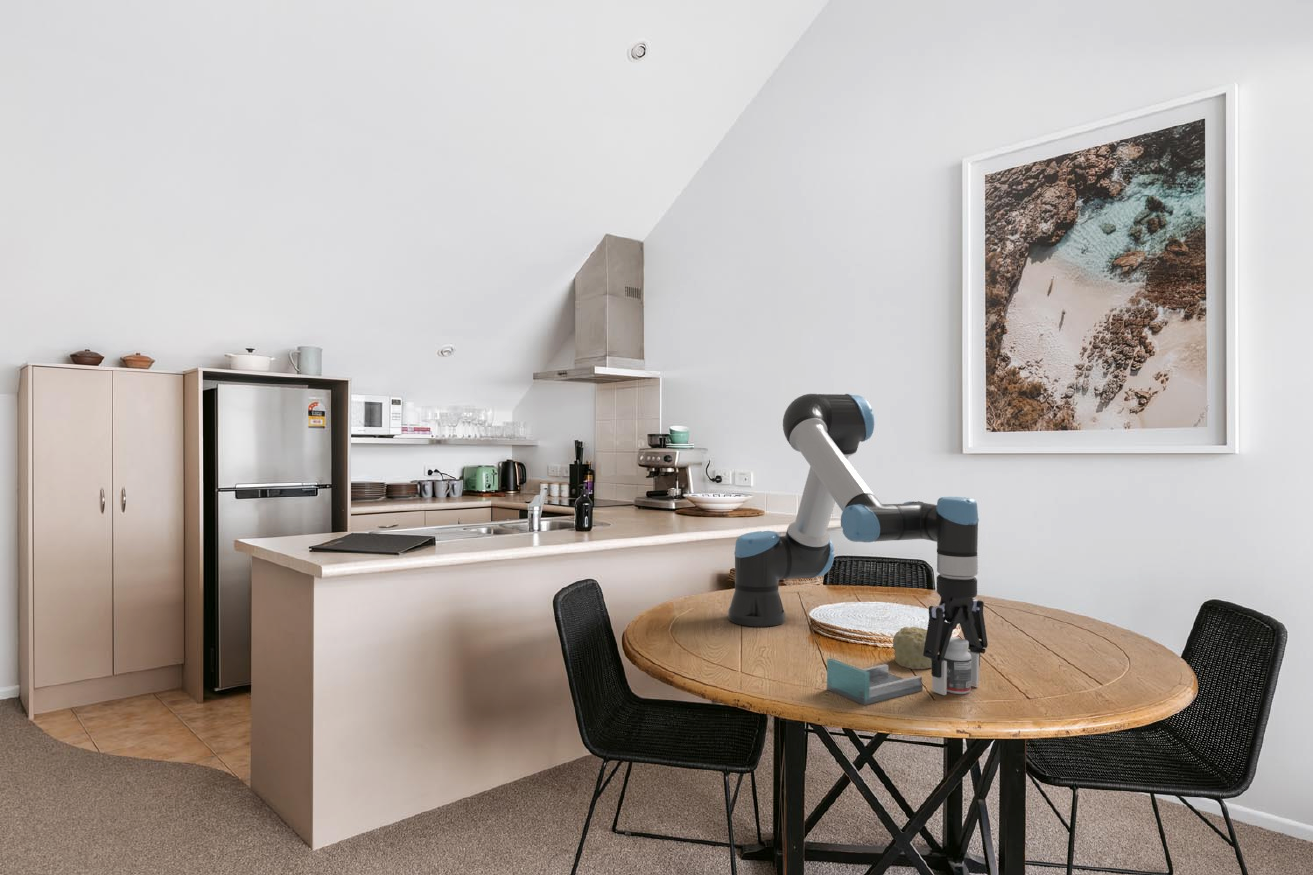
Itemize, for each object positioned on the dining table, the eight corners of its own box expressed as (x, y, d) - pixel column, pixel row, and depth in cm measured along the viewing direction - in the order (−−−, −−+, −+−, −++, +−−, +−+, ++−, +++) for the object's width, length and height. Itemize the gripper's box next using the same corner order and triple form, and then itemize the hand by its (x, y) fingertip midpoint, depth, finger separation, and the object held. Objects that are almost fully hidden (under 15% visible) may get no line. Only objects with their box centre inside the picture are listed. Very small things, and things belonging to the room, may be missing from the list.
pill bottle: (935, 685, 155) (935, 636, 154) (962, 684, 155) (962, 635, 155) (948, 695, 149) (948, 644, 149) (976, 694, 149) (976, 643, 149)
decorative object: (939, 678, 169) (933, 634, 175) (940, 664, 161) (934, 619, 167) (895, 679, 172) (891, 635, 177) (894, 665, 164) (890, 620, 169)
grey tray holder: (883, 676, 160) (884, 647, 160) (922, 690, 151) (922, 660, 151) (826, 689, 152) (827, 659, 152) (864, 705, 143) (864, 673, 143)
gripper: (975, 567, 160) (974, 674, 161) (903, 577, 149) (902, 692, 149) (1008, 573, 154) (1007, 684, 154) (935, 584, 143) (934, 704, 143)
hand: (955, 688), depth 152 cm, fingers open, 9 cm apart
